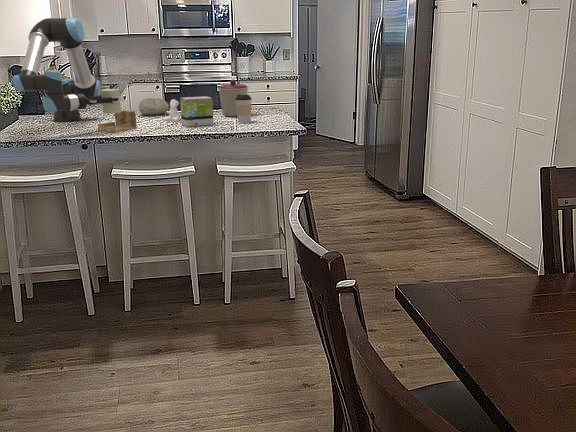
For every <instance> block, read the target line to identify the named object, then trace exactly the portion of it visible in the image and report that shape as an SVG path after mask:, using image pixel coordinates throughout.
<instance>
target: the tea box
mask: <svg viewBox="0 0 576 432" xmlns="http://www.w3.org/2000/svg"><path fill="white" fill-rule="evenodd" d="M213 101H214V100H213V97H210V96H207V95H205V96H201V95H200V96H186V97H185V96H184V97H183V96H182V97H179V105H180V121H181V123H180V124H181V125H182V126H185V127H186V128H188V127H189V128H190V127H201V126H213V125H214V107H213V106H214V105H213V103H214V102H213Z"/></svg>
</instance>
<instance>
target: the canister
mask: <svg viewBox="0 0 576 432" xmlns="http://www.w3.org/2000/svg"><path fill="white" fill-rule="evenodd" d="M249 88H250V87H249V86H247V85H246V84H244V83H237V80H236V79H232V78H231V79H230V81H229V83H227V84H221V85H220V86H218V87H217V90H218V93H219V99H220V106H221V111H222V114H223V115H224V116H225V117H228V118H229V117H230V118H231V117H232V118H234V117H236V118H238V116H237V110H236V100H235V99H236V97H237V95H238V94H239V95H248V94H249V93H248V92H249Z"/></svg>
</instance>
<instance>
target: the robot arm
mask: <svg viewBox="0 0 576 432" xmlns="http://www.w3.org/2000/svg"><path fill="white" fill-rule="evenodd" d="M83 26H84V25H83V24H82V21H80V19H78V18H76V17H64V18H63V17H55V18H54V17H53V18H52V17H49V18H48V17H47V18H43V19H41V20H40V21H38V22H37V23H36V24H34V26H33V27H32V29H30V32H29V34H28V41H29V42H28V46H27V50H26V53H25V56H24V57H25V58H24V61H23V64H22V68H21V70H20V74H16V75H14V76H13V77H12V85H13V88H14V90H15V91H17V92H37V91H39V92H40V91H42V92H44V91H45V92H46V96H43V98H42V105H43V109H44V111H46V112H47V113H53V117H52V118H53V122H58V123H65V122H77V121H80V120H81V119H82V115H81V113H80V111H79V110H85V109H87V106H88V105H89V106H90V105H91V106H93V105H99V104H102V103H111V104H113V102H120V103H121V102H124V101H125V99H124V95H120V96H115V97H108V98H102V96H101V90H102V87H101V80H99V79H96V78H95V76H94V75H92V73H91V71H90V67H89V64H88V62H87V59H86V55H85V53H84V50H83V46H82V45H83V42H84V41H85V31H84V30H85V29H84V27H83ZM50 43H59V45H60V47H61V48H62V49H64V50H65V53H66V55H67V58H68V61H69V64H70V67H71V69H72V72H73V75H74V79H73V78H72V77H70V78H62V73H61V71H60V70H58V69H47V70H44V71H43V74H39V72H40V68H41V64H42V61H43V58H44V57H43V56H44V53H45V50H46V47H48V45H49V44H50Z"/></svg>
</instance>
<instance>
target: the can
mask: <svg viewBox="0 0 576 432" xmlns="http://www.w3.org/2000/svg"><path fill="white" fill-rule="evenodd" d="M101 96H102V98H108V97H115V96H121V95H120V88H107V89H106V88H105V89H103V88H102V89H101ZM121 110H122V106H121V102H113V104H111V103H102V113H103V114H104V115H105V114H109V115H111V114H113V115H115V113H121V112H122V111H121Z"/></svg>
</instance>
